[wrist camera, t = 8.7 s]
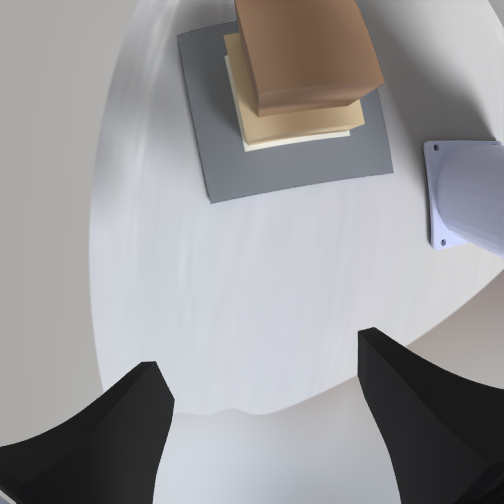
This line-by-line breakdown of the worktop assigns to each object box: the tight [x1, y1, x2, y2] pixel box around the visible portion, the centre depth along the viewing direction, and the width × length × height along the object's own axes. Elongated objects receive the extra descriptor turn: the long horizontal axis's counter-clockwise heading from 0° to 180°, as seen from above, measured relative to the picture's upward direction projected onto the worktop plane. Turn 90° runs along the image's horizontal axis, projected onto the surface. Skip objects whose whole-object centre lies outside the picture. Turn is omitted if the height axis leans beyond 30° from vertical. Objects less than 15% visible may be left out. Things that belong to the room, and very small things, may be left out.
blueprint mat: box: [178, 21, 393, 204], centre depth 15 cm, size 12×12×1 cm
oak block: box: [223, 33, 365, 146], centre depth 13 cm, size 6×6×4 cm
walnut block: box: [234, 0, 385, 118], centre depth 9 cm, size 4×4×4 cm
